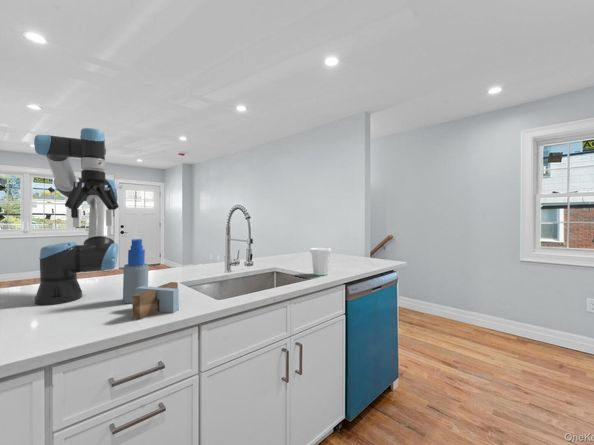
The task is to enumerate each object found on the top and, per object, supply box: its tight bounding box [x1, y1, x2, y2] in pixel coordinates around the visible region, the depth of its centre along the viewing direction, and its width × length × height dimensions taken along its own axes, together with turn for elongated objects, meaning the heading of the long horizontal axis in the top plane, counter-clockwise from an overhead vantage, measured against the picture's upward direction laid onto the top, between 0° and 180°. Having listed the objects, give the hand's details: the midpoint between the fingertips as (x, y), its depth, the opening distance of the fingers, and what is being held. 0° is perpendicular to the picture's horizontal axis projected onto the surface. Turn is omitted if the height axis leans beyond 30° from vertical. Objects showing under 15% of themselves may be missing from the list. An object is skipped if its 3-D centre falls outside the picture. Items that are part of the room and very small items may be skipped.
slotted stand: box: [131, 281, 179, 320], centre depth 108 cm, size 3×20×8 cm, turn 166°
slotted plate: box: [136, 286, 180, 314], centre depth 108 cm, size 16×3×8 cm, turn 76°
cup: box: [309, 247, 332, 277], centre depth 172 cm, size 12×12×15 cm
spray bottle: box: [122, 238, 149, 304], centre depth 120 cm, size 9×9×25 cm
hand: (94, 226), depth 112 cm, fingers open, 13 cm apart
